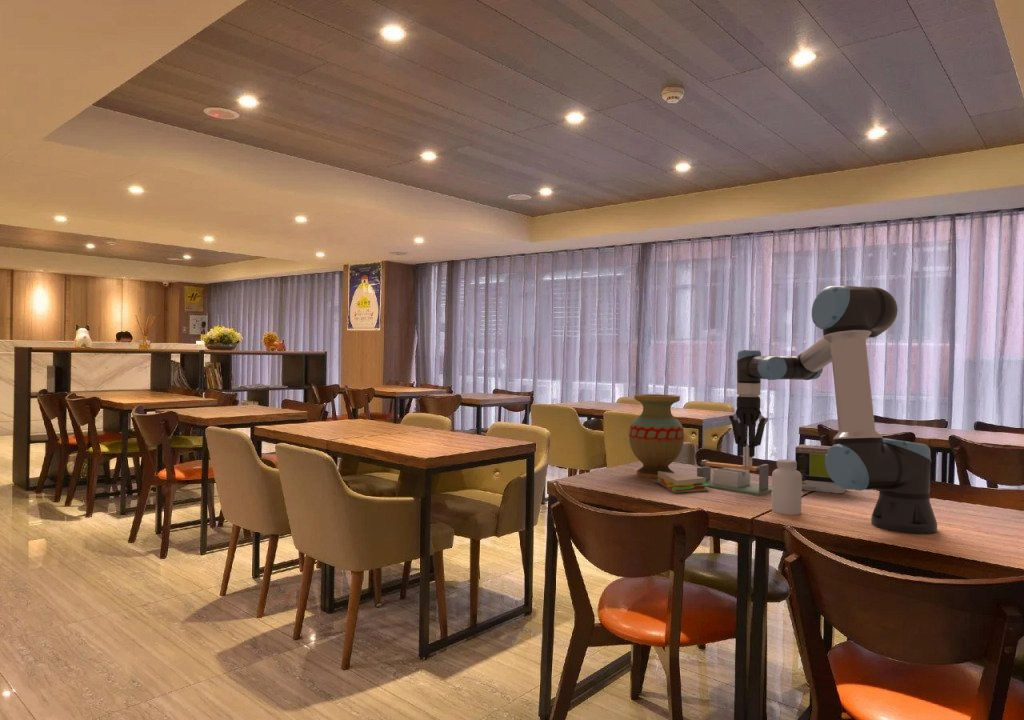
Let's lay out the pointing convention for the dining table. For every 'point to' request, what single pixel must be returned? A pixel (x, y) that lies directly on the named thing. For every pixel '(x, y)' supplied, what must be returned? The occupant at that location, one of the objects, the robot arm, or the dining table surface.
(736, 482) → the heatsink board
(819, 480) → the tea box
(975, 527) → the dining table surface
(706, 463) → the wooden stick
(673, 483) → the sandwich
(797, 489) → the pill bottle
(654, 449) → the vase
